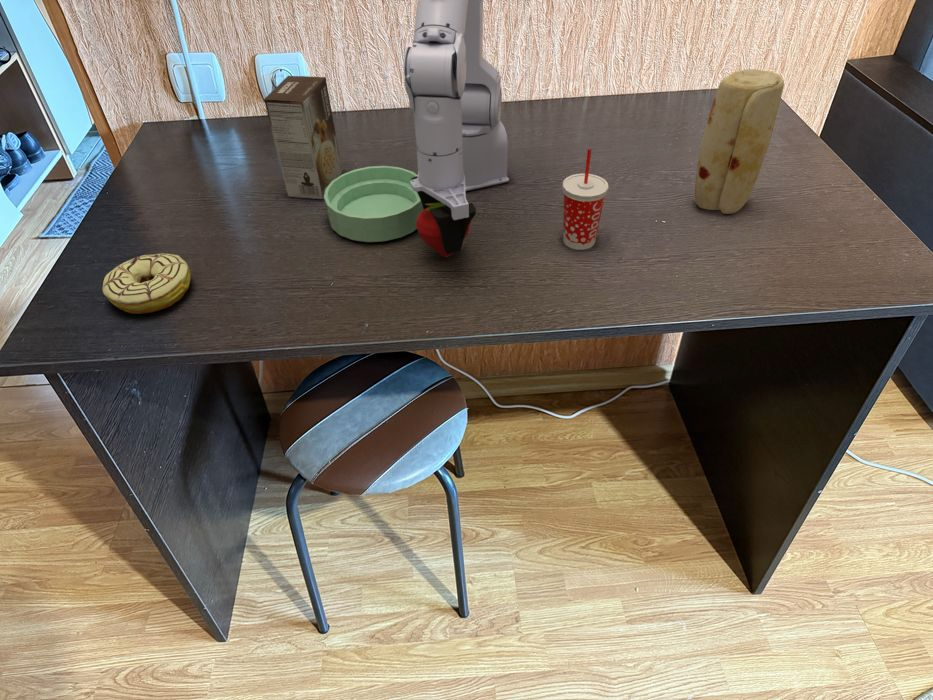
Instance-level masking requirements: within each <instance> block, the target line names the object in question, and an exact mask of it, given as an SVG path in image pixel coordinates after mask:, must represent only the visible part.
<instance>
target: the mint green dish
mask: <svg viewBox="0 0 933 700" xmlns="http://www.w3.org/2000/svg"><path fill="white" fill-rule="evenodd" d="M416 176H418V173H415V172H414V171H412V170H410V169H406V168H403V167H399V166H390V165H376V166H375V165H372V166H365V167H361V168H355V169H352V170H350V171H347V172H345V173H342V174H341V175H340V176H339V177H338V178H336V179H334V180H333V181H332V182H331V183H330V184H329V185H328V187H327V188H326V189H325V194H324V199H323V200H324V206H325V210H326V215H327V221H328V223H329V225H330V228H331V230H333V231H334V232H336V234H338V235H339V236H340V237H344V238H346V239H349V240H351V241H357V242H364V243H378V242H388V241H392V240H395V239H399V238H402V237H405V236H407V235H410V234H412V233H413V232H415V231H416V230H417V228H416V222H417V217H418V215H419V214H420V213H421V212H422V211H423V210H424V209H423V206H422V203H421V200H420V198H419V195H418V193H417V192H416V191H413V189H412V188H411V186H410V181H411V179H412V178H413V177H416Z"/></svg>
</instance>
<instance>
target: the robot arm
mask: <svg viewBox="0 0 933 700" xmlns="http://www.w3.org/2000/svg"><path fill="white" fill-rule="evenodd" d="M416 4H417V5H416V10H415V11H416V12H415V22H414V30H413V31H414V32H413V39H412V46H407V47H406V48H405V52H404V57H403V81H404V87H405V92H406V94H407V97H408V105H409V111H410V112H412V113H413V122H414V132H415V133H414V134H415V145H416V162H417V163H416V164H417V175H418V176H416V177H413V178H412V179H411V181H410V186H411V188H412V189H413V191H416V192H417V193H418V195H419V198H420V200H421V203H422V206H423V209H425V208H427V207H429V205H425V204H427V203H440V204H441V202H442V203H443V204H445V207H444V206H442V207H437V208H433V209H430V213H431V214H432V216H433V217H434V219H435V221H436V222H437V225H438V227H439V231H440V234H441V239H442V244H443V248H444V250H445V252H446V254H451V253H452V254H456V253H459V252H461V251H462V248H463V245H464V241H465V239H464V237H465V233H466V230H467V228H468V225H469V224H470V222H471V223H472V220H473V219H474V218H475V216H476V215H477V208H476V206H475V205H474V204H473V202H468V200H467V196H466V195H467V194H466V193H467V192H469V191H472V190H478V189H482V188H488V187H491V186H496V185H501V184H505V183H509V181H510V178H509V177H508V162H509V161H508V159H509V157H508V155H509V153H508V152H509V141H508V134H507V130H506V128H505V126H504V123H503V122H502V121H501V115H502V104H503V102H502V101H503V100H502V97H503V96H502V94H503V92H502V83H501V81H502V79H501V78H502V77H501V75H500V71H499V70H498V69H497V68H495V66H493V65H492V64H491V63H489V62H488V61H487V60H486V59H485V58H484V57H483V56H484V55H483V53H484V50H483V49H484V48H483V47H484V46H483V44H484V41H483V40H484V39H483V38H484V37H483V36H484V34H483V33H484V0H417V1H416ZM465 238H466V237H465ZM452 254H451V255H452Z"/></svg>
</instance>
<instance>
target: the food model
mask: <svg viewBox="0 0 933 700" xmlns="http://www.w3.org/2000/svg"><path fill="white" fill-rule="evenodd" d="M784 86H785V80H784V79H783V78H782V76H781V75H780V74H778V73H776V72H774V71H771V70H762V69H757V68H755V69H754V68H753V69H751V68H750V69H748V68H747V69H742V70H736V71H733V72H731V73H729V74H728V75H727V76H725V77H723V79H722V80H721V81H720V83H719V85H718V87H717V90H716V92H715V96H714V99H713V102H712V106H711V109H710V112H709V115H708V118H707V121H706V125H705V128H704V133H703V136H702V140H701V143H700V149H699V155H698V161H697V169H696V176H695V185H694V201H695V203H696V205H697V206H698V208H700V209H704V210H708V211H709V210H710V211H721V213H722V214H724V215H727V214H728V215H732V214H735V213H736V212H739V211H740V210H741V209H742V208H743V207H744V205H745V204H746V203H747V202H748V200H749V198H750V197H751V195H752V193H753V190H754V187H755V184H756V183H757V180H758V177H759V174H760V172H761V170H762V166H763V163H764V161H765V158H766V155H767V152H768V149H769V147H770V143H771V140H772V136H773V132H774V129H775V128H774V127H775V124H776V120H777V114H778V111H779V108H780V103H781V99H782V95H783V91H784Z"/></svg>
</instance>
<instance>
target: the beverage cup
mask: <svg viewBox="0 0 933 700" xmlns="http://www.w3.org/2000/svg"><path fill="white" fill-rule="evenodd" d="M591 158H592V148H587V153H586V159H585V160H586V161H585V162H586V163H585V170H584V173H575V174H571V175H569V176H567V177H566V178H564V180H563V181H562V193H563V226H562V227H563V228H562V229H563V233H562V242H563V244H564V245H565V246H566V247H568V248H570V249H573V250H581V251H582V250H588V249H591V248H592V247H593V246H594V245H595V244H596V241H597V236H598V231H599V226H600V221H601V216H602V212H603V208H604V207H603V206H604V203H605V197H606V196H607V194H608V191H609V183H608V182H607V180H606V179H605V178H603V177H601V176H599V175H597V174H592V173H590V166H591Z"/></svg>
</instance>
